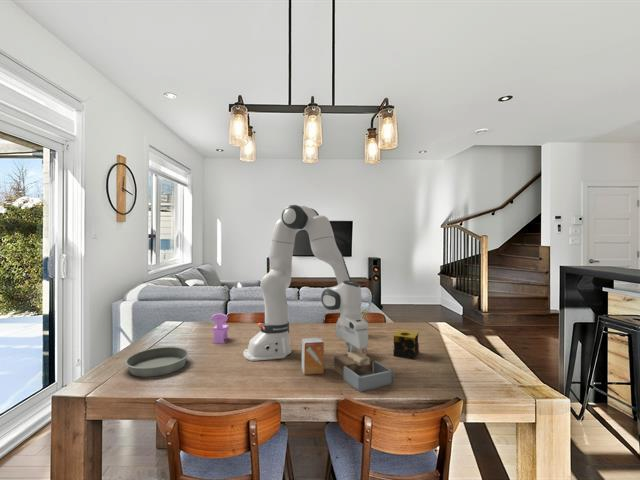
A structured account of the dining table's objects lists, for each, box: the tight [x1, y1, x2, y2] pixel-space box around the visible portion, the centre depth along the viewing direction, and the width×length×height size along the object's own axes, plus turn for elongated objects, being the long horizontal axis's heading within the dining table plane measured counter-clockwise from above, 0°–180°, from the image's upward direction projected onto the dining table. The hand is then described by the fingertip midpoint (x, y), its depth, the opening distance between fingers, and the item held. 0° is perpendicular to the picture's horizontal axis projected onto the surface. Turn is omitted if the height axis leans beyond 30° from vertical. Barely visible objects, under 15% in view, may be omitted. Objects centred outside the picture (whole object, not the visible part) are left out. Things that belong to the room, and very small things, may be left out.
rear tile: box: [347, 351, 362, 362], centre depth 139 cm, size 4×4×2 cm
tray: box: [343, 360, 395, 393], centre depth 130 cm, size 15×12×5 cm
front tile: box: [354, 354, 371, 366], centre depth 135 cm, size 4×4×2 cm
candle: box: [392, 329, 420, 360], centre depth 160 cm, size 10×10×10 cm
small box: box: [301, 336, 325, 376], centre depth 140 cm, size 8×6×13 cm
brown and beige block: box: [333, 353, 374, 377], centre depth 140 cm, size 12×10×6 cm
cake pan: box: [124, 346, 190, 378], centre depth 145 cm, size 25×25×4 cm
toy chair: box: [211, 313, 229, 344], centre depth 179 cm, size 8×9×15 cm
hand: (350, 353), depth 142 cm, fingers closed
